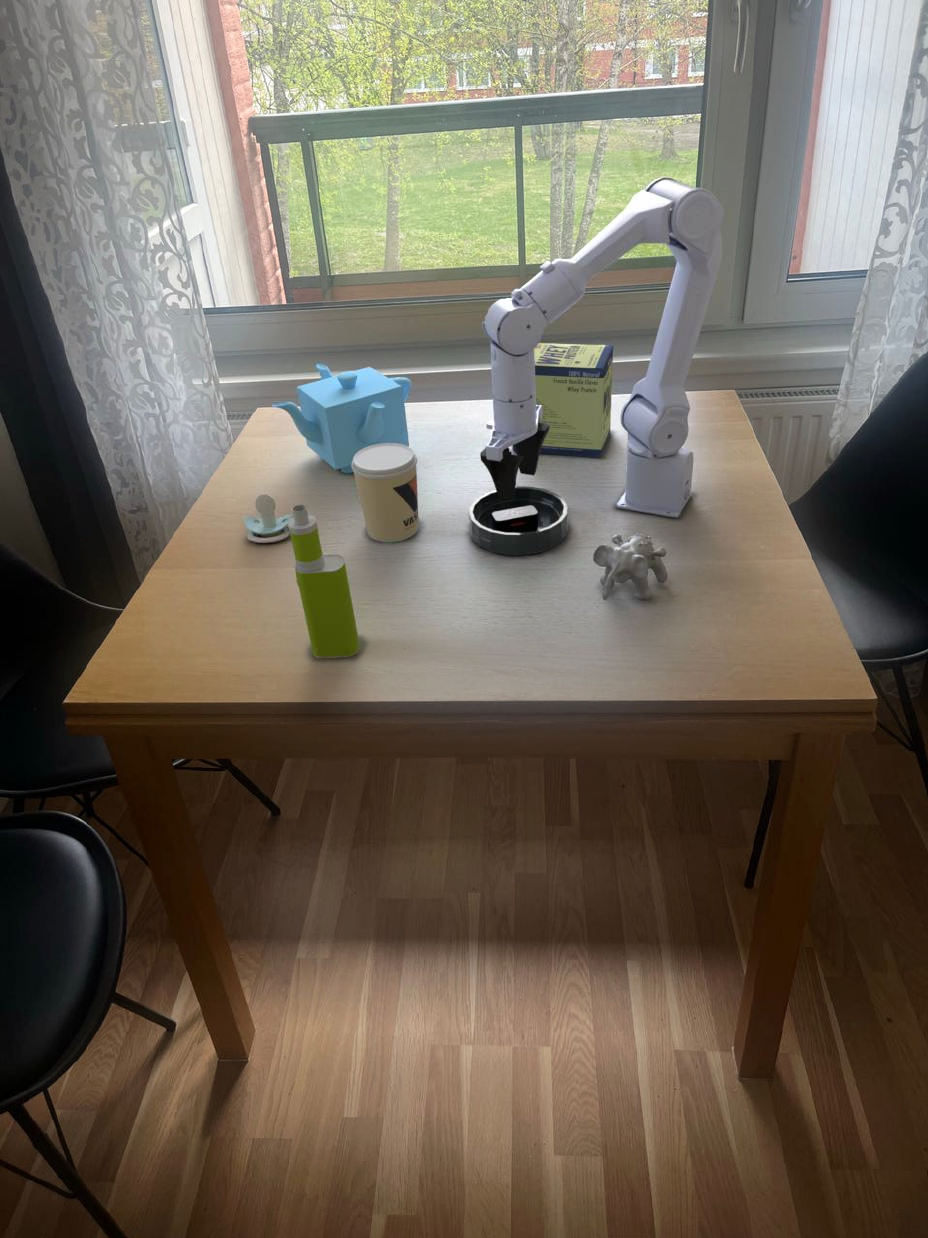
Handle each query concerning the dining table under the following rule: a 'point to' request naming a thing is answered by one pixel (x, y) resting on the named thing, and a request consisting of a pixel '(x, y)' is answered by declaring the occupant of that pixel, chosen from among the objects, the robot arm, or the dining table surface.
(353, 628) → the vape
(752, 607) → the dining table surface
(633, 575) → the gray elephant figurine
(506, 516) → the wireless earbuds
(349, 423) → the teakettle
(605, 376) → the protein box
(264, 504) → the pacifier
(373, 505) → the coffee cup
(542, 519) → the bowl
